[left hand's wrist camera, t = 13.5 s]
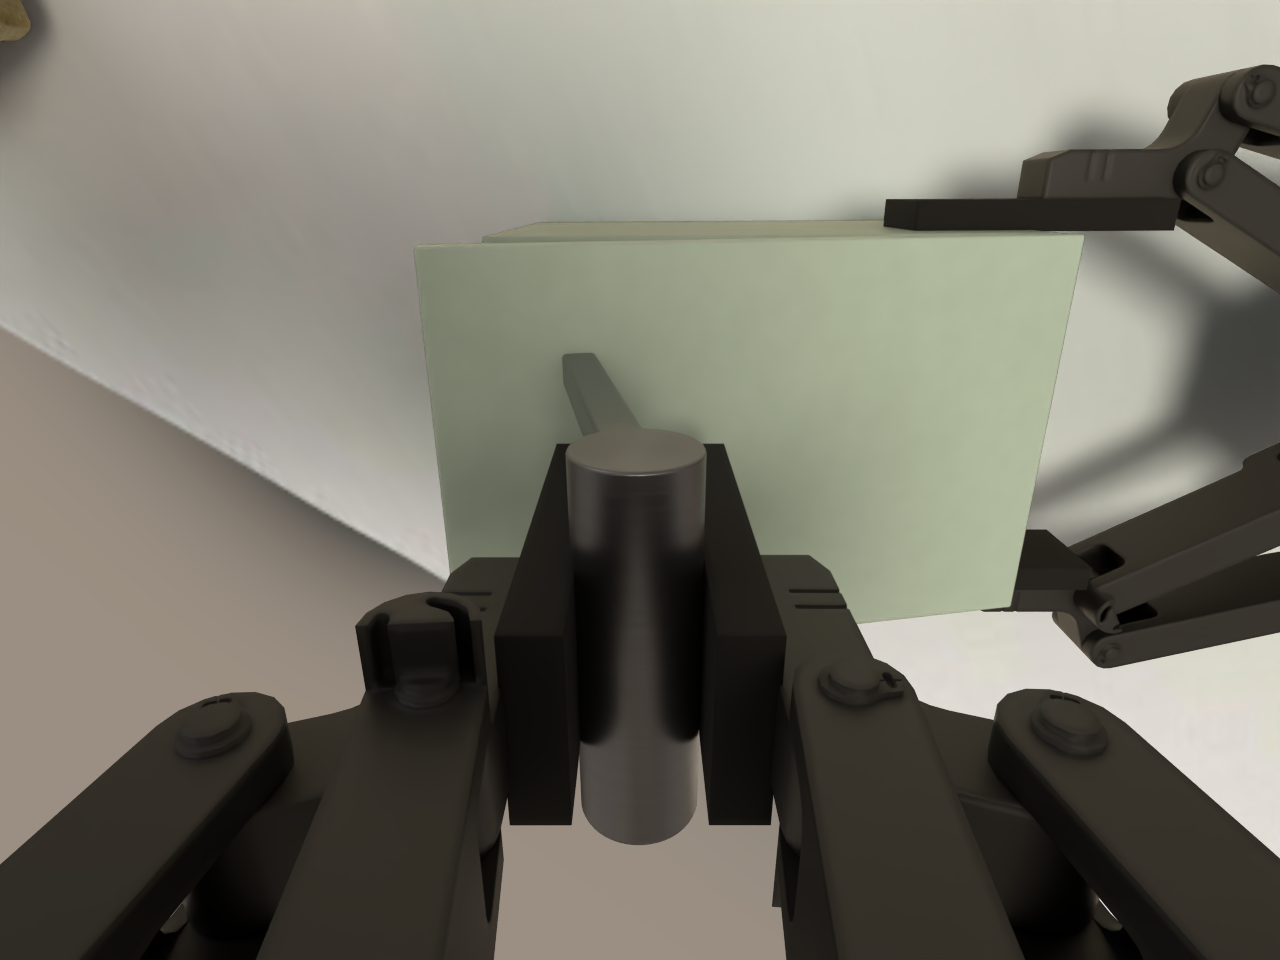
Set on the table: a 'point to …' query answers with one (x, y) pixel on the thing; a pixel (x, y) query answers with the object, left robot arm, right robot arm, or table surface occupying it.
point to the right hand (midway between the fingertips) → (878, 401)
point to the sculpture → (13, 20)
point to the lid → (739, 441)
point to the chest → (711, 231)
